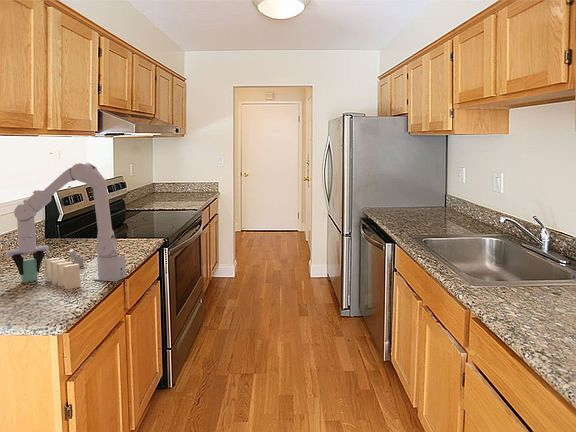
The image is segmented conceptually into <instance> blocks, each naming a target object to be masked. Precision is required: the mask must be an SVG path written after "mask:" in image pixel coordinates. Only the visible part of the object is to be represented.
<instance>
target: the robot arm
mask: <svg viewBox="0 0 576 432" xmlns="http://www.w3.org/2000/svg"><path fill="white" fill-rule="evenodd" d="M75 181H79V182H81V183H85V185H87V186H88V187H90V188H92V193H93V194H92V195H93V200H94V201H93V202H94V207H95V208H94V209H95V215H96V216H95V217H96V226H97V236H96V237H97V239H96V240H97V243H96V245H95V252H96V255H97V257H96V258H97V259H96V262H97V276H96V277H95V278H93V281H103V282H118V281H120V280H122V279H124V278H126V277H127V275H126V274H127V273H126V259H125V257H124V256H122V255H119V254H118V252H117V250H116V249H117V247H118V245H119V243H118V240H117V237H116V236H115V232H114V229H113V226H112V218H111V210H110V202H109V201H110V200H109V193H108V183H107V180H106V179H105V178H104V177H103V175H102V174H101V172H100V171H99V170H98V168H97V166H95V165H93V164H92V163H90V162H85V161H83V162H78V163H74V164H73V165H72V167H69V168H67V169H66V170H65V171H63V172H62V173H61V174H60V175H59V176H57V178H56V179H55V180H54V181H52V182H51V183H50V184H49V185H48V186H47V187H45V188H43V189H42V188H40V189H38V190H37V189H35V190H33V191H32V195H31V196H29V197H28V198H27V199H26V198H25V199H24V200H23V201H22V202H23V203H21V204H17V206H16V207H15V208H14V212H13V213H14V217H15V218H16V220H17V222H16V223H17V225H16V226H17V238H18V239H17V240H18V248H15V249H10V250H5V256H6V257H7V258H9V257H10V258H11V259H12V260H13V262H14V263H15V266H16V268H17V271H18V274H19V275H20V276H21V275H23V274H24V271H23V260H25V257H24V255H30V254H32V257H33V258H35V259H36V261H37V273H39V272H40V268H41V265H42V262H43V259H44V257H45V255H46V253H45V252H49V251H50V246H49V245H38V246H37V236H36V235H37V234H36V223H35V217H36V215H37V213H39V212H40V211H41V210H42V209H43V208H45V206H47V205H48V204H50V202H52V196H53V195H54V194H55V193H57V192H59V190H60V189H62V188H63V187H64V186H66V185H67V184H68V183H71V182H75Z"/></svg>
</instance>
